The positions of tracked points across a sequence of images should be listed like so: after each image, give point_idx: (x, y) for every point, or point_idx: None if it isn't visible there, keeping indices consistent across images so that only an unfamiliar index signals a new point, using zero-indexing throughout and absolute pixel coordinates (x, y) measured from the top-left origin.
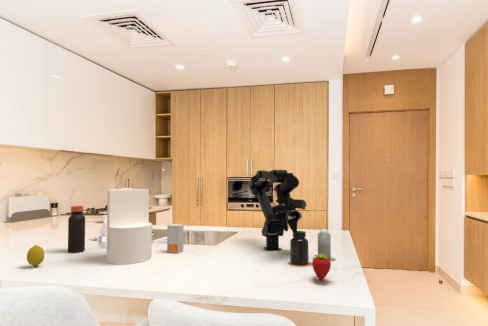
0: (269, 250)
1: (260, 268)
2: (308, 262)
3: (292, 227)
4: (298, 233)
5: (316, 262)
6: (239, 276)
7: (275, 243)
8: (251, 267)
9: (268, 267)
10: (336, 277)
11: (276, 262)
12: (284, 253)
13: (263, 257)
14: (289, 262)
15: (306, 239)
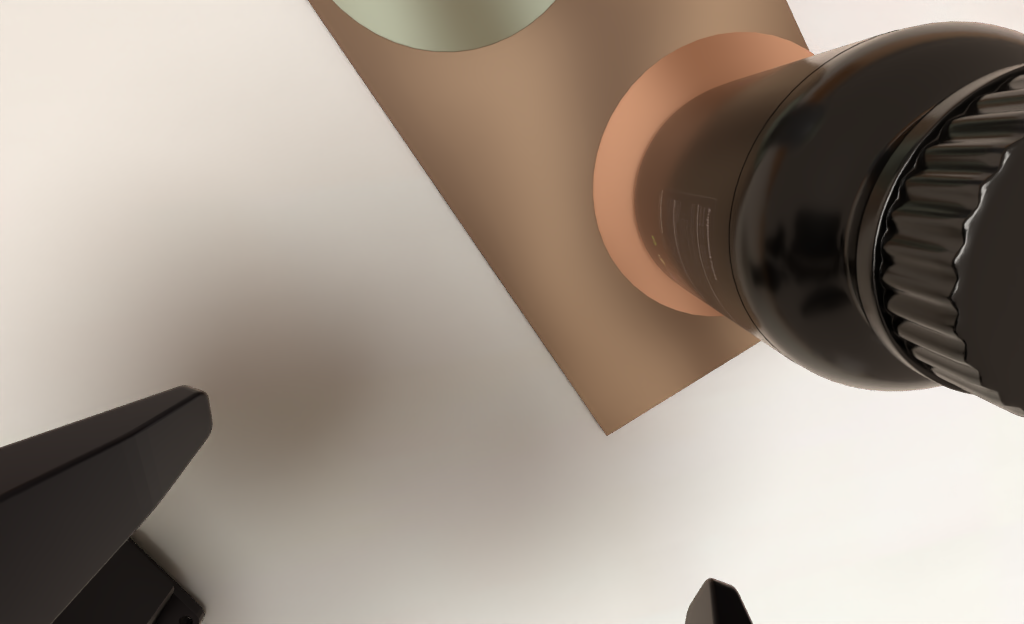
0: (197, 610)
1: (892, 519)
2: (662, 90)
3: (50, 574)
4: None
5: None
6: None
7: (107, 620)
8: (870, 591)
9: (852, 466)
10: None
11: (660, 437)
12: (231, 436)
13: (495, 591)
14: (706, 307)
15: (1011, 51)
